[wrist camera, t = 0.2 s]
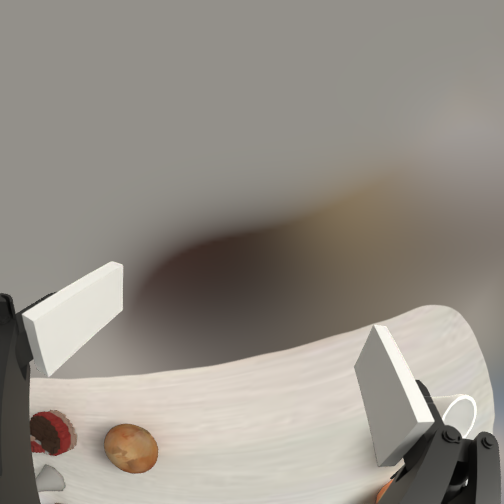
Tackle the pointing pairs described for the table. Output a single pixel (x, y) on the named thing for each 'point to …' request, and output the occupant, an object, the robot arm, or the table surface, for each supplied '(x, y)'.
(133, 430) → the onion
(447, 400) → the foam cup
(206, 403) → the table surface
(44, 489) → the flask
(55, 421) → the cake
